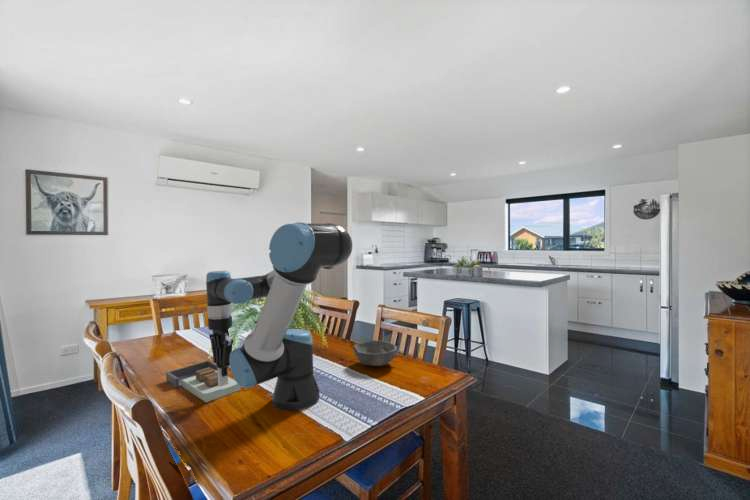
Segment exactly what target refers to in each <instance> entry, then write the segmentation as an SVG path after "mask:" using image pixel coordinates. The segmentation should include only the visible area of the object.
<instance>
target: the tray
mask: <svg viewBox="0 0 750 500" xmlns="http://www.w3.org/2000/svg"><path fill="white" fill-rule="evenodd" d="M208 367H210V368H212V369H214V370H216V371H218V369H217V367H218V366H217V365H216V363H214V361H213V362H212V361H211V360H209V359H208V360H205V361H201V362H199V363H195V364H191V365H187V366H184V367H180V368H177V369H173V370H170V371H166V372H165V376H166V377H165V378H166V380H165V381H166V382H167V383H168V384H169V385H171V386H172V387H174V388H175V389H179V388H183V387H182V380H183V379H187V378H190V377H193V376H196V371H198V370H201V369H205V368H208Z"/></svg>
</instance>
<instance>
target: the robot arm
mask: <svg viewBox="0 0 750 500" xmlns="http://www.w3.org/2000/svg"><path fill="white" fill-rule="evenodd" d="M270 238H271V239H270V241H269V247H268V250H270V252H269V253H268V255H269V257H268V258H269V260H270V263H271V264H272V270H271V271H270V272H268V273H267V274H263V275H257V276H249V277H239V278H232V277H231V272H230V271H228V270H214V271H208V272H207V273H206V277H205V278H206V279H205V280H206V281H205V285H206V286H205V288H206V298H207V299H206V300H207V302H206V304H207V305H206V306H207V307H206V310H207V319H208V320H207V326H208V328H207V329H208V330H210V331H212V334H208V335H209V336H208V337H209V340H210V345H211V351H212V359H213V363H215V364H216V365H217V366H218V367H217V369H218V386H220V387H221V386H224V385H226V384H228V377H229V376H228V366H229V367H230V371H231V374H232V377H233V380H235V381H236V382H237V383H238V385H239V386H240V388H244V389H249V388H251V387H256V386H258V385H261V384H264V383H266V382H269V381H270V380H273V379H275V378H276V383H275V386H274V389H273V394H272V405H273V407H274V408H276V409H279V410H281V411H299V410H304V409H307V408H311V406H314V405H315V404H316V403H318V402H319V400H320V389H319V387H318V383H317V381H316V378H315V376H314V354H313V353H314V352H313V351H314V350H313V349H314V348H313V347H314V346H313V345H314V343H313V337H312V333H311V332H310V331H307V330H305V329H300V328H299V329H297V328H289V327H290V326H291V325H290V324H291V323H292V320H293V318H294V315H295V313H296V311H297V308H298V305H300V302H301V299H302V297H303V294H304V292H305V290H306V287H307V285H310V284H312V283H314V282H316V279H317V276H318V275H319V272H320V271H323V270H327V271H329V270H331V269H335V268H336V267H337V266H340V265H342V264H344V263H345V262H346V261H347V260H348V259H349V258H350V257H351V254H352V251H353V240H352V237H351V235H350V233H349V232H348V231H347V229H345V228H344V227H343V226H341V225H339V224H336V223H332V222H331V223H316V222H315V223H309V222H308V223H305V222H301V221H300V222H293V223H286V224H283V225H281V226H279V227H278V228H277V229H276V230H275V231H274V233H273V234H272V236H271V237H270ZM261 298H265V301H264V304H263V306H262V309H261V312H260V314H259V317H258V318H257V319H258V320H257V322H256V325H255V327H254V330H253V331H252V332H250V333H249V334H248V335H247V336H246V337H245V339H244V341H243V344H242V345H241V347H237V348H233V351H232V345H233V342H234V343H235V339H234V340H233V339H230V338H229V331H228V329H229V328H232V327H233V316H232V315H233V312H232V308H233V304H236V305H238V304H246V303H247V302H249V301H252V300H257V299H261Z"/></svg>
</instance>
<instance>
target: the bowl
mask: <svg viewBox="0 0 750 500" xmlns="http://www.w3.org/2000/svg"><path fill="white" fill-rule="evenodd" d="M353 351H354V355H355V357H356V358H357V359H358V361H359V362H360V363H361V365H364V366H371V367H373V366H374V367H382V366H385V365H388V364H390V363H391V362H392V361H393V360H394V359H395V357H396V355H397V351H398V347H397V345H395V344H394V343H392V342H390V341H386V340H370V341H364V342H359V343H355V344H354V345H353Z"/></svg>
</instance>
